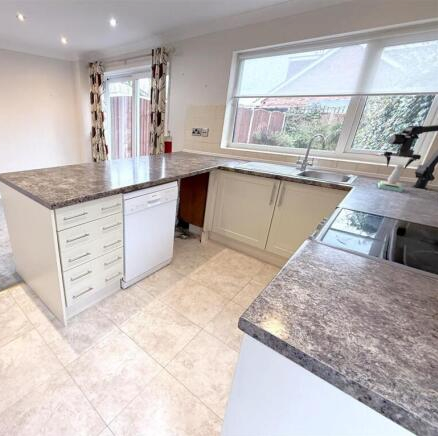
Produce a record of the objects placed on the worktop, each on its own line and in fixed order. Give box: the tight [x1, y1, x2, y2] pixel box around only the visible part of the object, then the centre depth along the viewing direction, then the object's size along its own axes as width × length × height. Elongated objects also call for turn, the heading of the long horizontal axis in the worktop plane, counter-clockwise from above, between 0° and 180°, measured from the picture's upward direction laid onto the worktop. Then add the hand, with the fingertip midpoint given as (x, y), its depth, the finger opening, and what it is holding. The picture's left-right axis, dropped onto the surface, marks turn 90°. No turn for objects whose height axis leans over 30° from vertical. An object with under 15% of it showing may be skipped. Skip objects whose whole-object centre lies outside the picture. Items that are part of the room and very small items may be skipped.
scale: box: [377, 180, 404, 193], centre depth 172 cm, size 14×12×3 cm
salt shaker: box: [387, 164, 405, 184], centre depth 170 cm, size 6×6×13 cm
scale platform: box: [380, 180, 403, 187], centre depth 173 cm, size 11×10×1 cm
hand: (395, 167), depth 176 cm, fingers open, 9 cm apart
